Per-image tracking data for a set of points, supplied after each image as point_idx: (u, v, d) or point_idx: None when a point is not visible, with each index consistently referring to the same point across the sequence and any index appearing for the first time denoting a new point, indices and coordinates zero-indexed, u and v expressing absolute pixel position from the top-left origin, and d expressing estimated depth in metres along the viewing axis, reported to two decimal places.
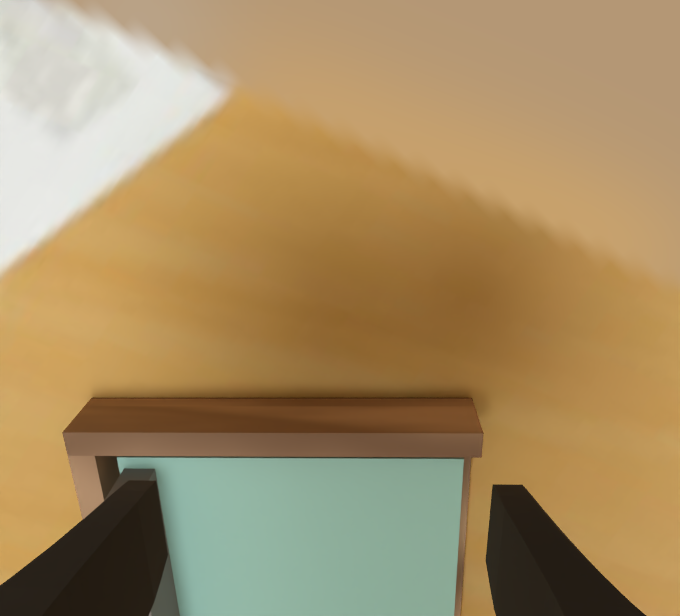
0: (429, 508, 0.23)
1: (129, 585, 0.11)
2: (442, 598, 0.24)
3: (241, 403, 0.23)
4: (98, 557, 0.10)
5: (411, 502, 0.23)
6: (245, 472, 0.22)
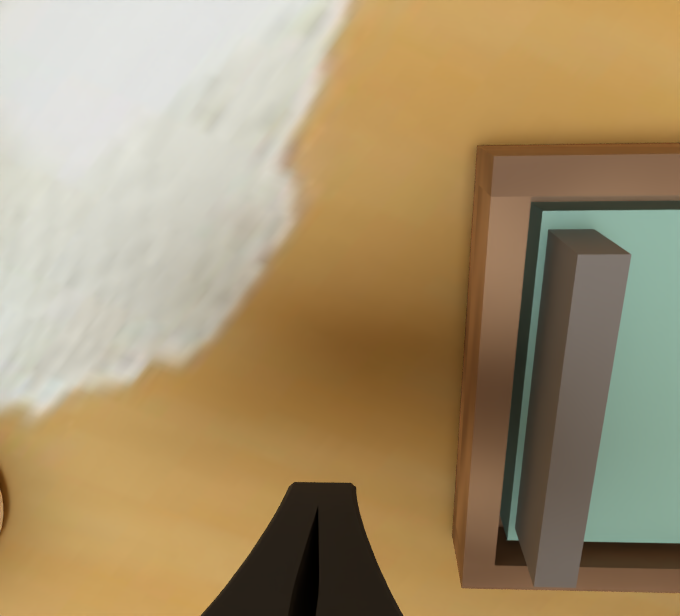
0: None
1: (313, 589, 0.11)
2: None
3: None
4: (304, 561, 0.10)
5: None
6: None
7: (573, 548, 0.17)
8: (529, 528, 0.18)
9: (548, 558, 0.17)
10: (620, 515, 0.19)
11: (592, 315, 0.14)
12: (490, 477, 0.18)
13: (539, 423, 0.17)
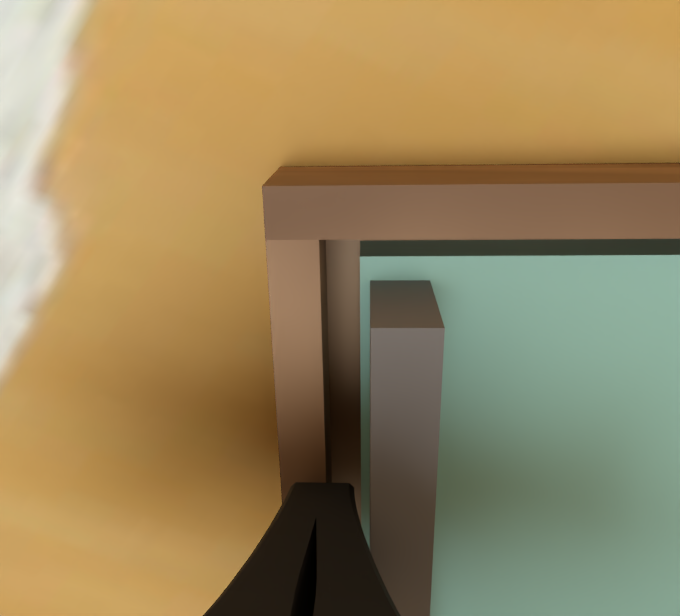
0: None
1: (315, 589, 0.11)
2: None
3: (569, 167, 0.12)
4: (306, 561, 0.10)
5: None
6: (604, 287, 0.12)
7: None
8: None
9: None
10: None
11: (401, 409, 0.10)
12: None
13: None
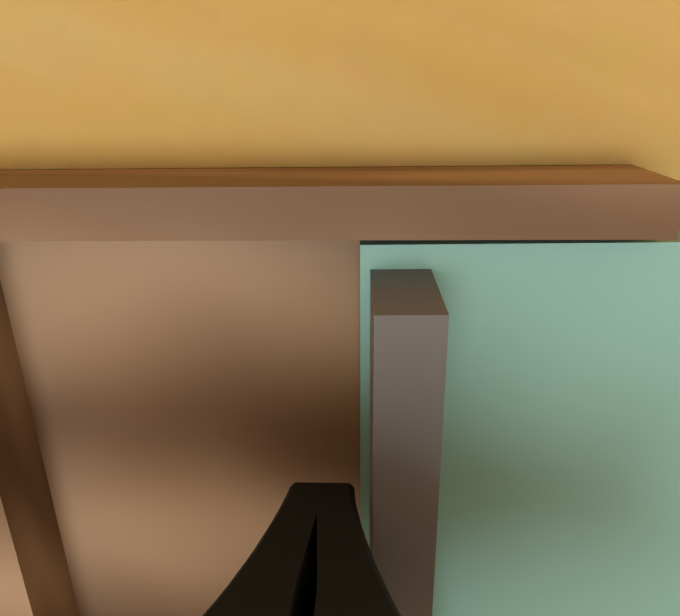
0: None
1: (315, 589, 0.11)
2: None
3: (213, 171, 0.13)
4: (305, 561, 0.10)
5: None
6: (607, 275, 0.12)
7: None
8: None
9: None
10: None
11: (404, 398, 0.10)
12: (8, 580, 0.14)
13: (370, 523, 0.13)
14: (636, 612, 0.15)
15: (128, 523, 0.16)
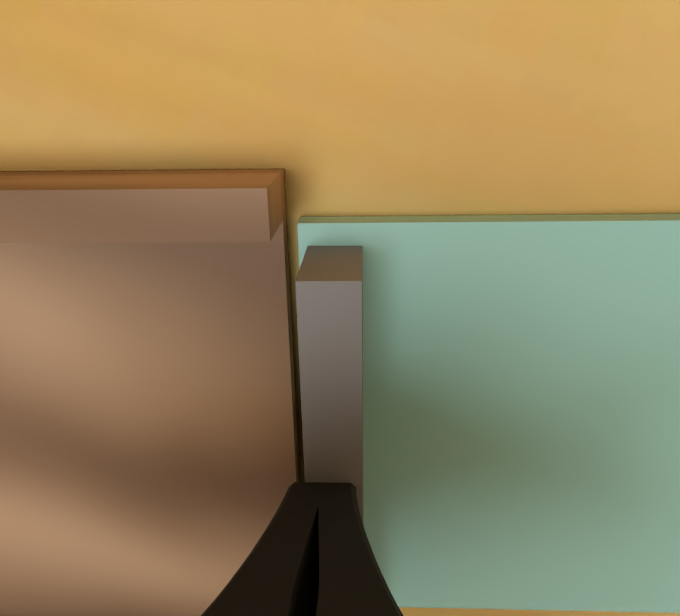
0: None
1: (313, 589, 0.11)
2: None
3: None
4: (304, 561, 0.10)
5: None
6: (522, 251, 0.13)
7: None
8: None
9: None
10: (440, 578, 0.16)
11: (326, 357, 0.11)
12: None
13: None
14: (568, 570, 0.16)
15: None
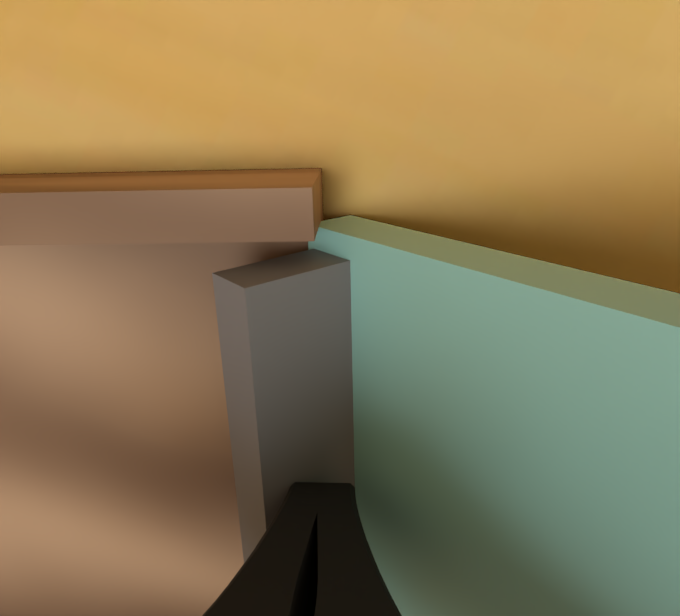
0: None
1: (315, 589, 0.11)
2: None
3: None
4: (305, 561, 0.10)
5: None
6: (492, 316, 0.09)
7: None
8: None
9: None
10: None
11: (233, 354, 0.11)
12: None
13: None
14: None
15: None
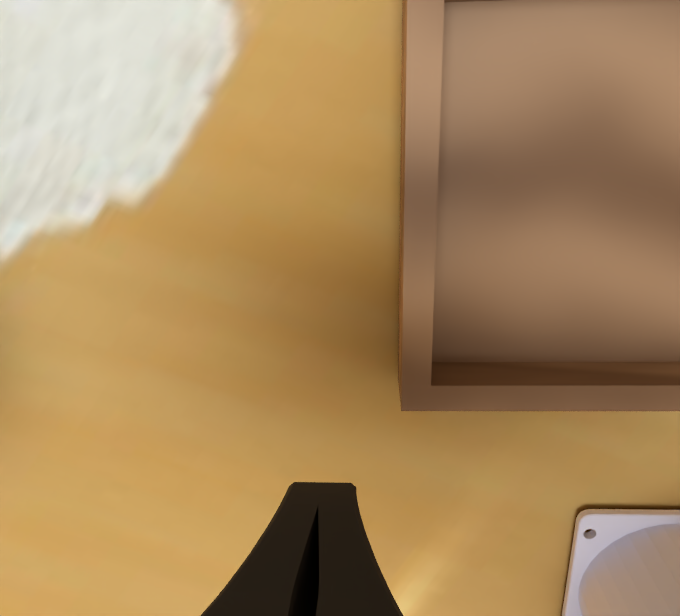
0: None
1: (313, 589, 0.11)
2: None
3: None
4: (304, 561, 0.10)
5: None
6: None
7: None
8: None
9: None
10: None
11: None
12: (422, 291, 0.19)
13: None
14: None
15: (485, 267, 0.21)
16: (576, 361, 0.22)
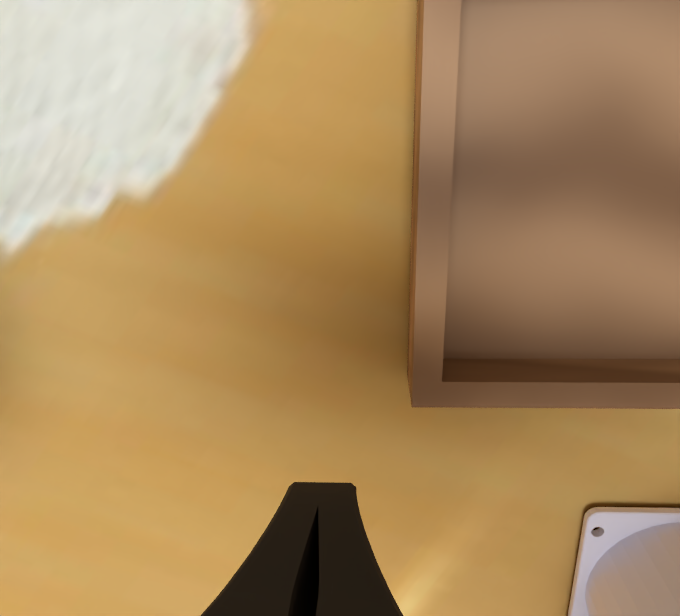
0: None
1: (313, 589, 0.11)
2: None
3: None
4: (304, 561, 0.10)
5: None
6: None
7: None
8: None
9: None
10: None
11: None
12: (434, 287, 0.19)
13: None
14: None
15: (497, 263, 0.21)
16: (586, 358, 0.22)
